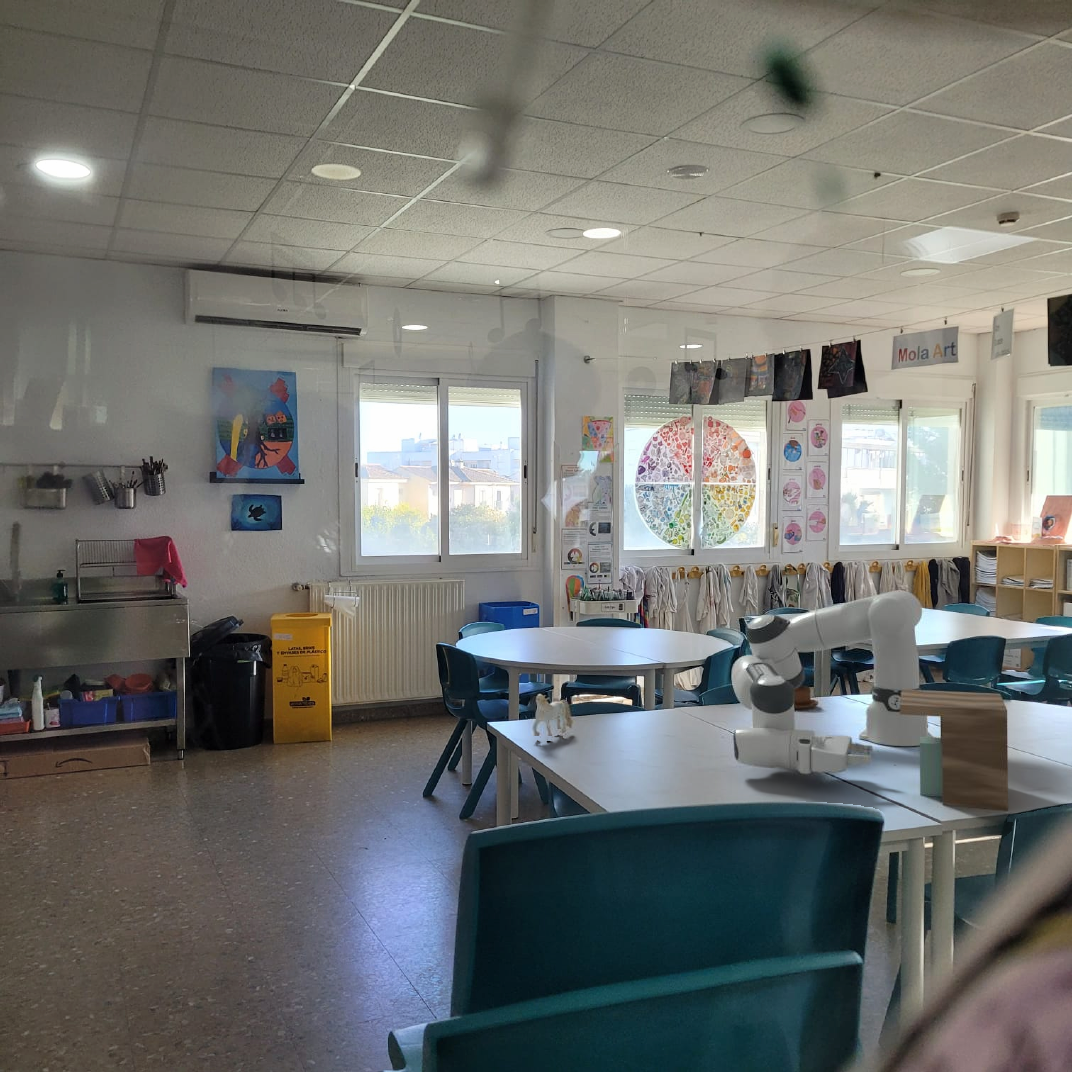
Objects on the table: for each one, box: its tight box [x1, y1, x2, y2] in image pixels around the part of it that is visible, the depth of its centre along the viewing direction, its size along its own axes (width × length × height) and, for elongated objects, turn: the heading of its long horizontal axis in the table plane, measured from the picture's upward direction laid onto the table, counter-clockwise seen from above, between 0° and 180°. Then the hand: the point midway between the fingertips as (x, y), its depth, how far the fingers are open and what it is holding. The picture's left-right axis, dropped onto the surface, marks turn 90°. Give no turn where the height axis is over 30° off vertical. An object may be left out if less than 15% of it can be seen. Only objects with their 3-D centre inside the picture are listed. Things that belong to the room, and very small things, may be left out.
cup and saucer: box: [794, 685, 819, 710], centre depth 305 cm, size 12×12×6 cm
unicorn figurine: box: [532, 693, 574, 737], centre depth 265 cm, size 7×20×13 cm, turn 159°
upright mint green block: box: [919, 736, 943, 798], centre depth 210 cm, size 6×6×11 cm
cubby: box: [900, 689, 1009, 811], centre depth 209 cm, size 19×20×20 cm
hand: (871, 754), depth 215 cm, fingers open, 8 cm apart
